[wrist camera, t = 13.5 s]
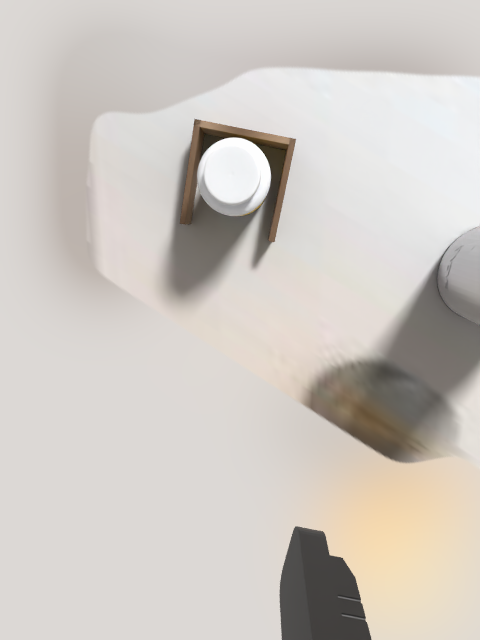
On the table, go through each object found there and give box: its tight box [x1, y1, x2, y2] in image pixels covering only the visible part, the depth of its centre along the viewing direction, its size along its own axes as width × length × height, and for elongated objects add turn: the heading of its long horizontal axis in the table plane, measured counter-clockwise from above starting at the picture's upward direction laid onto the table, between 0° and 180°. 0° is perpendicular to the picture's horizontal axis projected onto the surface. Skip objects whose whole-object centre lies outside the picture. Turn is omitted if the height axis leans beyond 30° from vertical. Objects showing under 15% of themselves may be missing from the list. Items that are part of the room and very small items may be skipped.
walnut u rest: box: [180, 119, 296, 242], centre depth 35 cm, size 9×9×3 cm
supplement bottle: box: [197, 138, 271, 216], centre depth 32 cm, size 6×6×10 cm
